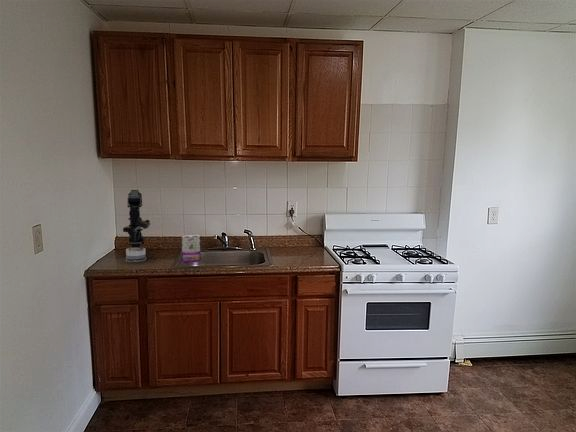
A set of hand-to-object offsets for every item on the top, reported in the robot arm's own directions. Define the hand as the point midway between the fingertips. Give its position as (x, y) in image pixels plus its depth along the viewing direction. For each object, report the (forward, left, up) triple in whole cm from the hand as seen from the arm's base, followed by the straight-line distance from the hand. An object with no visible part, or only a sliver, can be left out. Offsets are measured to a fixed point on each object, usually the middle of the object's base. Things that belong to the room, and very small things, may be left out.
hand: (135, 241), depth 231 cm
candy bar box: (-3, +34, -12) cm, 36 cm away
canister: (0, 0, -12) cm, 12 cm away
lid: (0, 0, -8) cm, 8 cm away
